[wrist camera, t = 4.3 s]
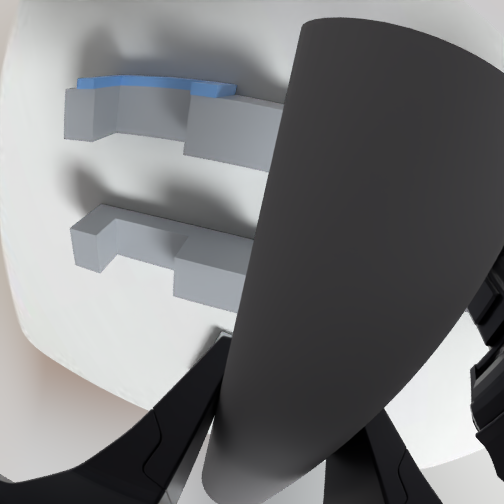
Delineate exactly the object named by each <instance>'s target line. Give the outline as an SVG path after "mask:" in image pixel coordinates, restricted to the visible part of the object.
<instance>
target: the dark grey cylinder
mask: <svg viewBox="0 0 504 504" xmlns="http://www.w3.org/2000/svg"><path fill="white" fill-rule="evenodd" d="M503 246H504V73H503V72H502V71H500V70H499V69H497V68H496V67H494V66H493V65H491V64H490V63H488V62H486V61H485V60H483V59H481V58H479V57H478V56H476V55H474V54H472V53H470V52H468V51H466V50H464V49H462V48H460V47H458V46H456V45H454V44H451V43H449V42H447V41H444V40H442V39H440V38H437V37H434V36H432V35H429V34H426V33H423V32H420V31H417V30H413V29H410V28H406V27H402V26H398V25H394V24H390V23H385V22H380V21H373V20H367V19H358V18H342V17H340V18H322V19H315V20H312V21H308V22H306V23H305V24H303V26H302V28H301V32H300V36H299V41H298V45H297V50H296V54H295V59H294V63H293V68H292V72H291V77H290V81H289V85H288V90H287V94H286V99H285V103H284V108H283V112H282V117H281V121H280V126H279V130H278V134H277V139H276V143H275V148H274V152H273V157H272V161H271V166H270V170H269V175H268V179H267V184H266V188H265V192H264V197H263V201H262V206H261V210H260V215H259V219H258V224H257V228H256V233H255V237H254V242H253V246H252V251H251V255H250V260H249V264H248V269H247V273H246V278H245V282H244V286H243V291H242V295H241V300H240V304H239V309H238V313H237V318H236V322H235V327H234V331H233V336H232V340H231V345H230V349H229V354H228V358H227V363H226V367H225V372H224V376H223V381H222V385H221V390H220V394H219V399H218V403H217V408H216V412H215V417H214V421H213V426H212V430H211V435H210V439H209V444H208V449H207V453H206V457H205V462H204V467H203V471H202V483H203V487H204V489H205V491H206V493H207V494H208V495H209V497H210V498H211V499H212V500H214V501H215V502H216V503H218V504H261V503H262V502H264V501H266V500H268V499H269V498H271V497H272V496H274V495H276V494H277V493H279V492H280V491H282V490H283V489H285V488H286V487H288V486H289V485H291V484H292V483H294V482H295V481H297V480H298V479H299V478H301V477H302V476H304V475H305V474H307V473H308V472H309V471H311V470H312V469H313V468H314V467H316V466H317V465H319V464H320V463H321V462H323V461H324V460H325V459H326V458H328V457H329V456H330V455H332V454H333V453H334V452H335V451H336V450H338V449H339V448H340V447H341V446H343V445H344V444H345V443H346V442H347V441H348V440H350V439H351V438H352V437H353V436H354V435H355V434H356V433H358V432H359V431H360V430H361V429H362V428H363V427H364V426H365V425H366V424H368V423H369V422H370V421H371V420H372V419H373V418H374V417H375V416H376V415H377V414H378V413H379V412H380V411H381V410H382V409H383V408H384V407H385V406H386V405H387V404H388V403H389V402H390V401H391V400H392V399H393V398H394V397H395V396H396V395H397V394H398V393H399V392H400V391H401V390H402V389H403V388H404V386H405V385H406V384H407V383H408V382H409V381H410V380H411V379H412V378H413V376H414V375H415V374H416V373H417V372H418V371H419V370H420V368H421V367H422V366H423V365H424V364H425V363H426V361H427V360H428V359H429V358H430V356H431V355H432V354H433V353H434V352H435V350H436V349H437V348H438V347H439V345H440V344H441V343H442V341H443V340H444V339H445V337H446V336H447V335H448V333H449V332H450V331H451V329H452V328H453V327H454V325H455V324H456V322H457V321H458V320H459V318H460V317H461V315H462V314H463V312H464V311H465V310H466V308H467V307H468V305H469V304H470V302H471V301H472V299H473V297H474V296H475V294H476V293H477V291H478V290H479V288H480V286H481V285H482V283H483V281H484V280H485V278H486V276H487V275H488V273H489V271H490V270H491V268H492V266H493V264H494V262H495V261H496V259H497V257H498V255H499V253H500V251H501V249H502V248H503Z"/></svg>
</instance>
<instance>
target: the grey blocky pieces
mask: <svg viewBox="0 0 504 504" xmlns="http://www.w3.org/2000/svg"><path fill="white" fill-rule="evenodd" d="M236 87H237V85H234V84H228V83H221V82H213V81H205V80H196V79H187V78H175V77H161V76H141V75H112V76H99V77H88V78H79V79H78V81H77V87H76V88H70V89H66V94H65V113H64V139H69V140H79V141H89V142H93V141H96V140H98V139H101V138H104V137H106V136H109V135H111V134H114V133H124V134H132V135H140V136H148V137H155V138H162V139H169V140H176V141H182V142H185V144H184V153H183V155H187V156H192V157H198V158H203V159H208V160H213V161H218V162H223V163H228V164H233V165H238V166H242V167H247V168H251V169H256V170H260V171H265V172H269V170H270V166H271V161H272V157H273V152H274V148H275V143H276V139H277V134H278V130H279V126H280V121H281V117H282V112H283V108H284V104H280V103H276V102H271V101H266V100H261V99H256V98H251V97H245V96H240V95H235V93H236ZM70 232H71V239H72V246H73V253H74V259H75V264H76V265H77V266H80V267H83V268H86V269H89V270H92V271H95V272H98V273H101V272H102V271H103V270H104V269H105V268H106V266H107V265H108V264H109V263H110V262H111V261H112V260H113V259H114V258H115V256H116V255H117V254H118V255H122V256H125V257H129V258H132V259H136V260H139V261H143V262H146V263H150V264H153V265H157V266H160V267H164V268H168V269H171V270H174V286H173V296H175V297H179V298H182V299H186V300H189V301H193V302H196V303H200V304H204V305H207V306H211V307H215V308H219V309H223V310H226V311H230V312H234V313H238V309H239V304H240V300H241V295H242V291H243V286H244V282H245V278H246V273H247V269H248V264H249V260H250V255H251V251H252V246H253V242H254V240H252V239H248V238H244V237H240V236H236V235H232V234H228V233H224V232H219V231H215V230H211V229H207V228H203V227H199V226H194V225H190V224H186V223H182V222H177V221H173V220H169V219H165V218H160V217H156V216H152V215H148V214H143V213H139V212H135V211H130V210H126V209H122V208H117V207H113V206H109V205H104V204H100V205H99V206H98V207H96V208H95V209H94V210H93V211H91V212H90V213H89V214H87V215H86V216H85V217H83V218H82V219H81V220H80V221H78V222H77V223H76V224H75V225H73V226H72V227H71V228H70Z"/></svg>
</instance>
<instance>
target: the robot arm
mask: <svg viewBox="0 0 504 504" xmlns="http://www.w3.org/2000/svg"><path fill="white" fill-rule="evenodd" d="M465 312H469V314H470V316H471V318H472V320H473V322H474V324H475V325H476V326H477V328H478V330H479V332H480V334H481V337H482V339H483V341H484V343H485V345H486V346H488V347H489V351H488V353H487V354H486V355H485V356H484V357H483V358H482V359H481V360H480V361H479V362H478V363H477V364H475V365H474V366H473V367H472V368H471V369H470V375H471V407H470V409H471V413H472V419H473V423H474V425H475V427H476V429H477V431H478V432H477V433H476V438H477V439H478V440H479V441H480V442H481V443H482V444H483V445H484V446H485V448H486V449H487V451H488V453H489V454H490V457H491V459H492V461H493V464H494V467H495V470H496V473H497V476H498V477H499V478H500V479H501V480H503V481H504V246H503V248H502V249H501V251H500V253H499V255H498V257H497V259H496V261H495V262H494V264H493V266H492V268H491V270H490V271H489V273H488V275H487V276H486V278H485V280H484V281H483V283H482V285H481V286H480V288H479V290H478V291H477V293H476V294H475V296H474V297H473V299H472V301H471V302H470V304H469V305H468V307H467V308H466V310H465ZM231 340H232V337H228V336H222V337H220V338H219V339H218V341H217V342H216V343H215V344H214V345H213V346H212V347H211V348H210V349H209V350H208V351H207V352H206V353H205V354H204V355H203V356H202V357H201V359H200V360H199V361H198V362H197V363H196V364H195V365H194V366H193V367H192V368H191V369H190V370H189V371H188V372H187V373H186V374H185V375H184V376H183V377H182V378H181V379H180V380H179V381H178V382H177V384H176V385H175V386H174V387H173V388H172V389H171V390H170V391H169V392H168V393H167V394H166V395H165V396H164V397H163V398H162V399H161V400H160V401H159V402H158V403H157V404H156V405H155V406H154V407H153V409H151V410H150V411H149V412H148V413H147V414H146V415H145V416H144V417H143V418H142V419H141V420H140V421H138V422H137V423H136V424H135V425H134V426H133V427H132V428H131V429H130V430H128V431H127V432H126V433H124V434H123V435H122V436H121V437H119V438H118V439H117V440H115V441H114V442H113V443H111V444H110V445H108V446H107V447H106V448H104V449H103V450H101V451H100V452H99V453H97V454H96V455H94V456H93V457H92V458H90V459H88V460H87V461H85V462H84V463H82V464H80V465H79V466H76V467H74V468H72V469H69V470H66V471H63V472H59V473H56V474H52V475H48V476H44V477H40V478H36V479H31V480H27V481H23V482H16V483H14V482H12V481H11V480H9V479H7V478H6V477H4V476H2V475H1V474H0V504H177V502H178V500H179V497H180V495H181V493H182V491H183V488H184V486H185V484H186V481H187V479H188V477H189V475H190V472H191V470H192V467H193V465H194V463H195V461H196V458H197V456H198V454H199V451H200V449H201V447H202V444H203V442H204V440H205V437H206V435H207V433H208V430H209V428H210V425H211V423H212V421H213V418H214V416H215V412H216V408H217V403H218V399H219V394H220V390H221V385H222V381H223V376H224V372H225V367H226V363H227V358H228V354H229V349H230V345H231ZM323 504H443V503H442V502H441V500H440V499H439V498H438V496H437V495H436V493H435V492H434V490H433V489H432V487H431V486H430V485H429V483H428V482H427V480H426V479H425V478H424V476H423V475H422V473H421V471H420V470H419V468H418V467H417V465H416V463H415V461H414V460H413V458H412V456H411V455H410V453H409V451H408V449H406V446H405V444H404V442H403V440H402V439H401V437H400V435H399V433H398V432H397V430H396V428H395V426H394V425H393V423H392V421H391V419H390V418H389V416H388V414H387V413H386V411H385V409H384V408H383V409H382V410H381V411H380V412H379V413H378V414H377V415H376V416H375V417H374V418H373V419H372V420H371V421H370V422H369V423H368V424H366V425H365V426H364V427H363V428H362V429H361V430H360V431H359V432H358V433H356V434H355V435H354V436H353V437H352V438H351V439H350V440H348V441H347V442H346V443H345V444H344V445H343V446H341V447H340V448H339V449H338V450H336V451H335V452H334V453H333V454H332V455H330V456H329V457H328V458H326V470H325V486H324V500H323Z"/></svg>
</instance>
